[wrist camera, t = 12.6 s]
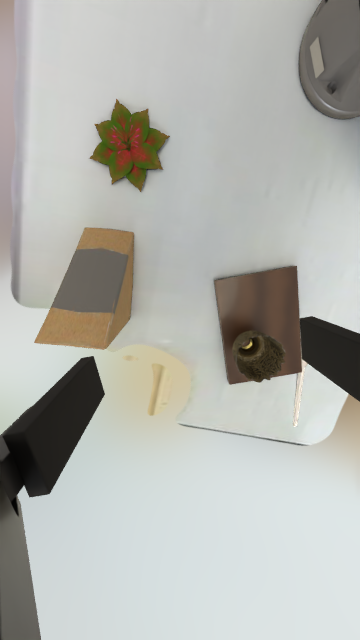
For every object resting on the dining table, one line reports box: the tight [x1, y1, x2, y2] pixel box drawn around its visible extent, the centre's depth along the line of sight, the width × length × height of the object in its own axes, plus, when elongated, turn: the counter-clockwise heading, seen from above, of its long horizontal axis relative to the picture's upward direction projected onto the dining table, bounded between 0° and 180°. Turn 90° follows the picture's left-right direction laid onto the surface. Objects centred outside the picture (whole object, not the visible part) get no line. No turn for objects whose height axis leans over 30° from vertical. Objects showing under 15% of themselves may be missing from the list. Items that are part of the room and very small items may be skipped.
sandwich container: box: [35, 228, 134, 350], centre depth 31 cm, size 9×15×15 cm, turn 174°
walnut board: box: [214, 266, 302, 384], centre depth 41 cm, size 14×20×2 cm
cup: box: [232, 331, 286, 382], centre depth 37 cm, size 8×7×8 cm
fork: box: [293, 339, 308, 426], centre depth 44 cm, size 3×20×2 cm, turn 2°
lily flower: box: [90, 99, 170, 192], centre depth 32 cm, size 12×12×5 cm
